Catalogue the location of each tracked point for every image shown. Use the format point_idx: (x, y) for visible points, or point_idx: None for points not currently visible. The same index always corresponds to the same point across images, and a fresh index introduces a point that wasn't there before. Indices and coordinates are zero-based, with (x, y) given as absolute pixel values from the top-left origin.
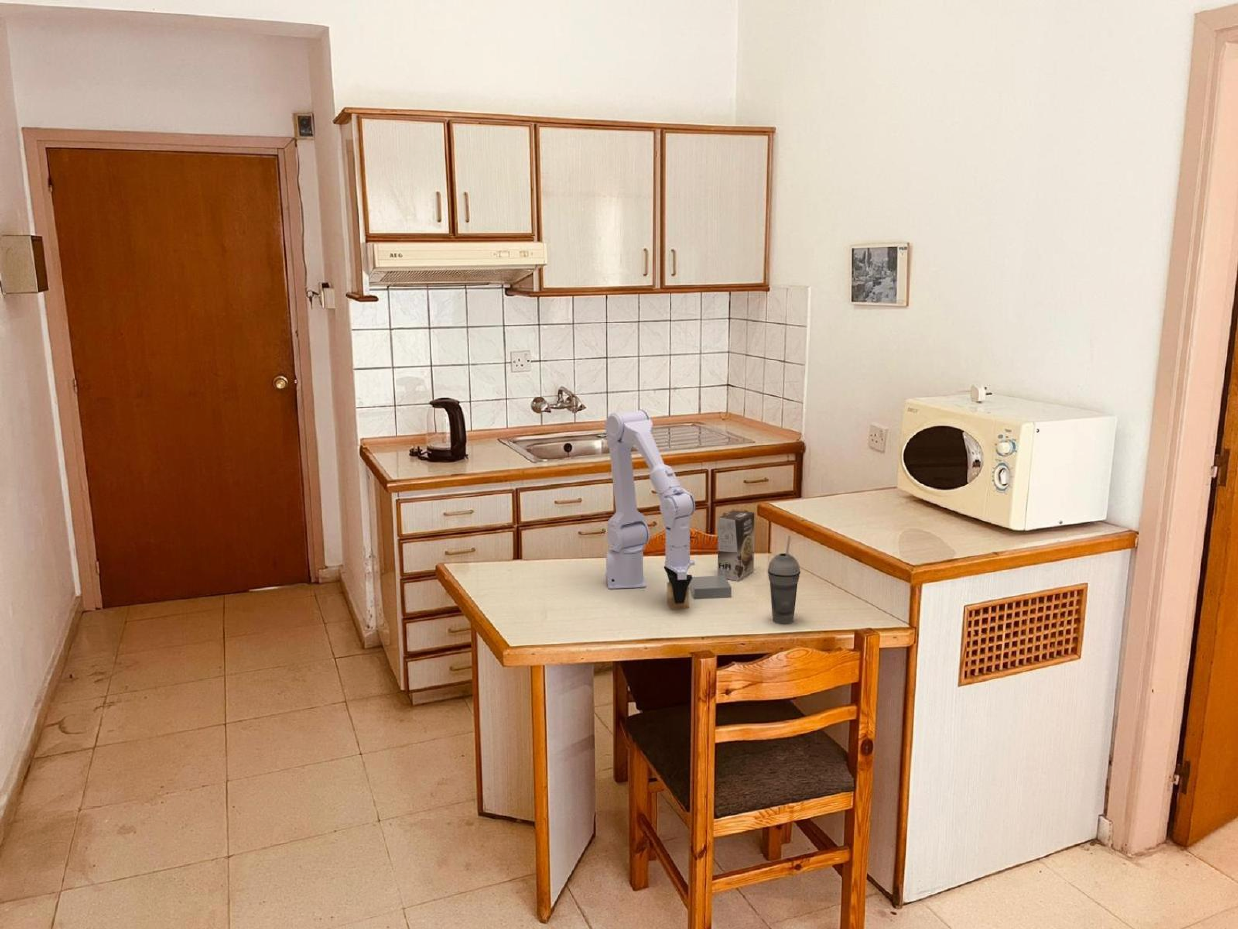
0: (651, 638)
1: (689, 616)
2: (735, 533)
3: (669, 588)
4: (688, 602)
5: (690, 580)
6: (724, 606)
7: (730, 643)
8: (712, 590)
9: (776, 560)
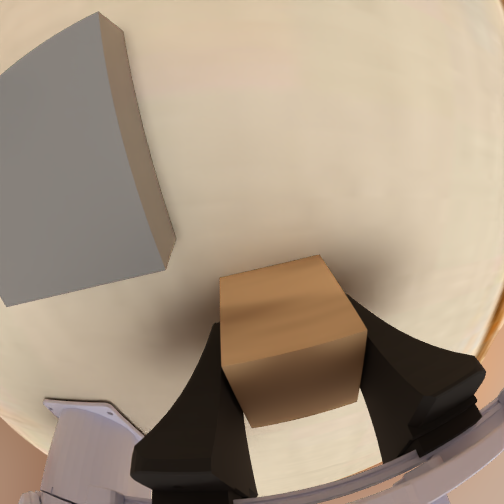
0: (493, 314)
1: (415, 242)
2: None
3: (348, 402)
4: (328, 271)
5: (469, 358)
6: (289, 56)
7: None
8: (127, 138)
9: None
